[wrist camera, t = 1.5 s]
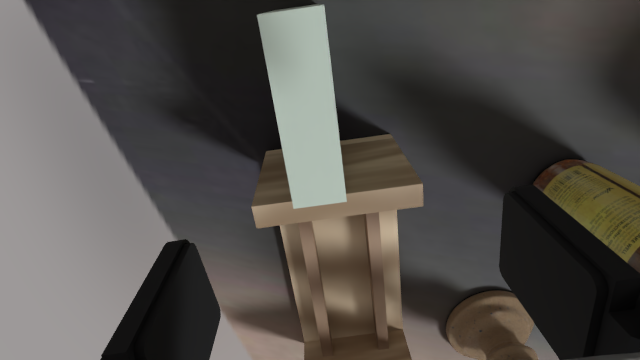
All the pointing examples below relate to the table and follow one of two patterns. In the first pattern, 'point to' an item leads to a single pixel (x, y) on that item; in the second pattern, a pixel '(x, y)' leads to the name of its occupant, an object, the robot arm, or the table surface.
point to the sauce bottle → (597, 203)
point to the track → (346, 251)
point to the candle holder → (491, 327)
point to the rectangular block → (304, 103)
